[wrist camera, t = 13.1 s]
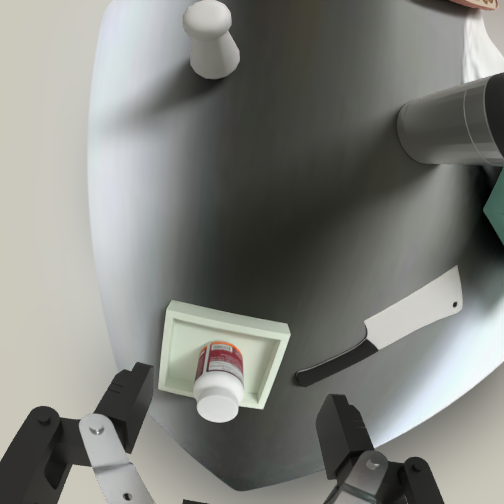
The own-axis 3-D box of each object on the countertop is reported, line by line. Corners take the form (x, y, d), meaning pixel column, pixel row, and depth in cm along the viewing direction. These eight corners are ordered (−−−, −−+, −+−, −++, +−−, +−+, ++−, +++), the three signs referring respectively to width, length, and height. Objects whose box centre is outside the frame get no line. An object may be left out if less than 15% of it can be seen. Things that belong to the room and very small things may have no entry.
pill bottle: (216, 378, 41) (211, 432, 30) (191, 350, 39) (177, 402, 29) (251, 361, 40) (255, 415, 29) (226, 330, 39) (223, 382, 28)
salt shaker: (213, 93, 31) (199, 51, 19) (183, 65, 30) (157, 18, 18) (249, 64, 30) (254, 13, 18) (219, 38, 29) (209, -18, 17)
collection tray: (287, 323, 39) (290, 334, 36) (261, 396, 43) (262, 409, 40) (171, 299, 38) (166, 309, 35) (162, 377, 41) (158, 389, 38)
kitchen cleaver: (458, 256, 37) (467, 308, 39) (452, 254, 39) (461, 305, 40) (280, 347, 40) (304, 396, 41) (280, 342, 41) (303, 390, 43)
